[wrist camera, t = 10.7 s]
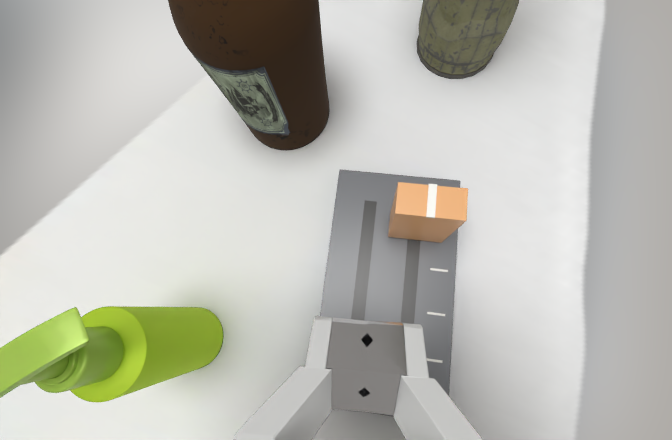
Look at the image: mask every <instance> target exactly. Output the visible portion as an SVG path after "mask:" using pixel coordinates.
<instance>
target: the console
mask: <svg viewBox="0 0 672 440" xmlns="http://www.w3.org/2000/svg"><path fill="white" fill-rule="evenodd" d="M398 182H404V183H414V184H425V185H428V184H437V186H446V187H456V188H460V181H457V180H447V179H436V178H425V177H414V176H403V175H393V174H382V173H371V172H360V171H349V170H340V171H339V178H338V186H337V193H336V201H335V208H334V215H333V223H332V230H331V238H330V245H329V253H328V260H327V267H326V275H325V282H324V290H323V297H322V305H321V312H320V316H322V317H334V318H343V319H353V320H362V321H367V320H368V321H383V322H398V323H402V324H403V323H407V324H420V325H421V326H422V328H423V335H424V343H425V351H426V358H427V366H428V373H429V378H434V379H435V380H436V381H437V382H438V383H439V385H440V386H441V387H442V388H443V390H444V391H445V392H446V393H447V395H448V396H449V381H450V362H451V344H452V326H453V307H454V289H455V270H456V252H457V233H458V228H457V229H456V230H455V231H454V232H453V233H452V234H451V235H450V236H448V237H447V238H446V239H445V240H444V241H443V242H442V243H439V242H430V241H421V240H412V239H403V238H394V237H388V231H389V221H390V212H391V208H392V204H393V200H394V196H395V192H396V188H397V185H398ZM362 411H363V410H362ZM370 413H371V412H370ZM376 414H379V413H376ZM382 415H387V414H382ZM388 416H394V415H388Z"/></svg>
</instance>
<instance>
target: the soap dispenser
mask: <svg viewBox="0 0 672 440" xmlns="http://www.w3.org/2000/svg"><path fill="white" fill-rule="evenodd" d="M222 342H223V329H222V326H221V323H220V321H219V319H218V318H217V317H216V315H215V314H213V313H212V312H211V311H209V310H207V309H204V308H198V307H102V308H98V309H95V310H93V311H90V312H89V313H87V314H85V315H84V316H83V317H81V316H80V314H79V311H78V309H77V308H76V307H75V308H72V309H70V310H68V311H66V312H64V313H61V314H59V315H57V316H55V317H54V318H52V319H50V320H48V321H46V322H44V323H42V324H40V325H38V326H36V327H34V328H33V329H31V330H29V331H27V332H26V333H24V334H22V335H21V336H19V337H17V338H16V339H14V340H12V341H11V342H9V343H7V344H6V345H4V346H3V347H1V348H0V398H1V397H2V396H4V395H5V394H7V393H8V392H10V391H11V390H13V389H15V388H16V387H18V386H19V385H22V384H27V383H31V382H35V383H36V384H37V386H38V387H40V388H41V389H42V390H44V391H47V392H51V393H59V392H64V391H68V390H70V391H71V392H72V393H73V394H75V395H76V396H77V397H79V398H81V399H83V400H86V401H90V402H105V401H109V400H112V399H115V398H118V397H120V396H123V395H126V394H129V393H132V392H134V391H137V390H140V389H143V388H146V387H149V386H151V385H154V384H157V383H160V382H163V381H165V380H168V379H171V378H174V377H177V376H179V375H182V374H185V373H188V372H191V371H194V370H196V369H199V368H202V367H204V366H206V365H208V364H209V363H210V362H212V361H213V360H214V359H215V357H216V356H217V355H218V353H219V351H220V349H221V346H222Z"/></svg>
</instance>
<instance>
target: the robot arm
mask: <svg viewBox="0 0 672 440" xmlns="http://www.w3.org/2000/svg"><path fill="white" fill-rule="evenodd" d="M331 409H335V410H349V411H362V410H363V412H371V413H379V414H387V415H394V419H395V421H396V422H397V424H398V426H399V428H400V430H401V431H402V433H403V435H404V437H405V439H406V440H483V439H482V438H481V436H480V435H479V434H478V433H477V431H476V430H475V429H474V428H473V426H472V425H471V424H470V423H469V421H468V420H467V419H466V418H465V416H464V415H463V414H462V412H461V411H460V410H459V409H458V407H457V406H456V405H455V404H454V402H453V401H452V400H451V399H450V397H449V396H448V395H447V393H446V392H445V391H444V390H443V388H442V387H441V386H440V385H439V383H438V382H437V381H436V380H435V379H434V378H429V373H428V366H427V358H426V351H425V343H424V335H423V328H422V326H421V325H420V324H407V323H403V324H402V323H398V322H383V321H368V320H367V321H362V320H353V319H343V318H334V317H322V316H315V318H314V320H313V325H312V330H311V336H310V341H309V346H308V352H307V357H306V363H305V367H302V366H299V367H298V368H297V369H296V370H295V372H294V373H293V374H292V375H291V376H290V377H289V378H288V379H287V380H286V381H285V382H284V383H283V384H282V385H281V386H280V387H279V388H278V389H277V390H276V391H275V392H274V393H273V395H272V396H271V397H270V398H269V399H268V400H267V401H266V402H265V403H264V404H263V405H262V406H261V407H260V408H259V409H258V410H257V411H256V412H255V413H254V414H253V415H252V416H251V418H250V419H249V420H248V421H247V422H246V423H245V424H244V425H243V426H242V427H241V428H240V429H239V430H238V431H237V432H236V434H235V437H234V440H312V439H313V437H314V436H315V434H316V433H317V431H318V430H319V429H320V427H321V426H322V424H323V423H324V421H325V420H326V418H327V417H328V416H329V414H330V413H331Z"/></svg>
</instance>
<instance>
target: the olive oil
mask: <svg viewBox="0 0 672 440" xmlns="http://www.w3.org/2000/svg"><path fill="white" fill-rule="evenodd" d="M168 1H169V6H170V10H171V14H172V17H173V20H174V23H175V26H176V28H177V30H178V33H179V35H180V36H181V38H182V40H183V42H184V43H185V45H186V46H187V48H188V49H189V50H190V52H191V53H192V54H193V55H194V57H195V58H196V59H197V61H198V62H199V63H200V64H201V66H202V67H203V68H204V70H205V71H206V72H207V73H208V75H209V76H210V77H211V79H212V80H213V81H214V82H215V84H216V85H217V86H218V88H219V89H220V90H221V92H222V93H223V94H224V95H225V97H226V98H227V99H228V101H229V102H230V103H231V105H232V106H233V107H234V109H235V110H236V111H237V113H238V114H239V115H240V117H241V118H242V119H243V121H244V122H245V123H246V125H247V126H248V128H249V129H250V130H251V132H252V133H253V134H254V136H255V137H256V138H257V139H258V140H259V141H261V142H262V143H263V144H265V145H267V146H269V147H271V148H275V149H280V150H291V149H296V148H300V147H302V146H305V145H307V144H309V143H310V142H312V141H313V140H314V139H315V138H317V137H318V136H319V134H320V133H321V132H322V131H323V129H324V127H325V125H326V123H327V120H328V116H329V101H328V93H327V85H326V77H325V67H324V57H323V47H322V36H321V24H320V12H319V1H318V0H168Z"/></svg>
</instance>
